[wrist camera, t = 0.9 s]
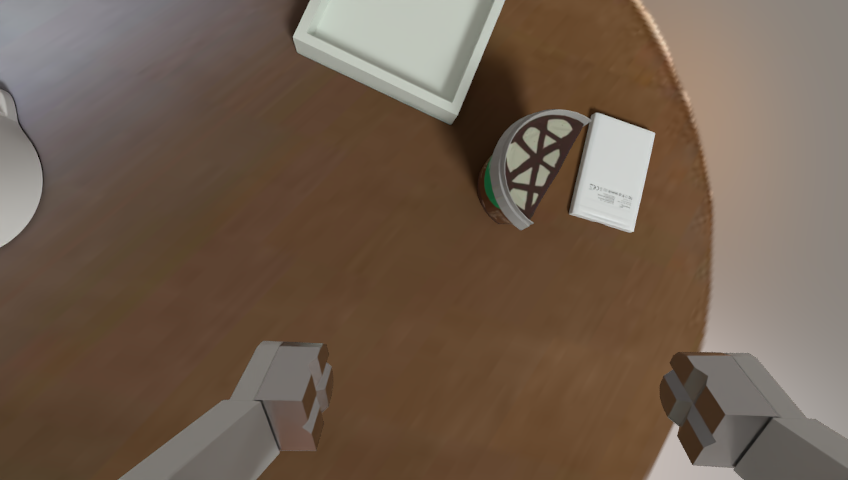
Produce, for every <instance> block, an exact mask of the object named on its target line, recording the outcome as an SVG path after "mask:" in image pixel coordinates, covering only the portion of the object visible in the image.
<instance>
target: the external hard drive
mask: <svg viewBox="0 0 848 480" xmlns="http://www.w3.org/2000/svg"><path fill="white" fill-rule="evenodd" d="M591 120H592V121H591V122H590V123H589V127H588V132H587V136H586V141H585V145H584V149H583V154H582V158H581V162H580V167H579V171H578V175H577V180H576V184H575V188H574V193H573V197H572V201H571V206H570V210H569V214H570V215H574V216H577V217H580V218H583V219H587V220H590V221H593V222H599V223H602V224H605V225H606V226H609V227H613V228H616V229H619V230H622V231H626V232H633V231H634V227H635V222H636V218H637V214H638V209H639V204H640V200H641V196H642V191H643V187H644V182H645V178H646V173H647V169H648V164H649V160H650V155H651V151H652V146H653V141H654V137H655V133H654V132H652V131H649V130H646V129H643V128H641V127H638V126H635V125H632V124H629V123H626V122H623V121H621V120H618V119H615V118H612V117H609V116H607V115H604V114H600V113H594V114H592V115H591Z"/></svg>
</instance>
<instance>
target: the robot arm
mask: <svg viewBox="0 0 848 480" xmlns="http://www.w3.org/2000/svg"><path fill="white" fill-rule="evenodd" d="M42 185H43V177H42V168H41V164H40V160H39V157H38V155H37V153H36V151H35V149H34V147H33V145H32V143H31V142H30V140H29V139H28V138H27V136H26V135H25V133H24V132H23V131H22V129H21V127H20V126H19V124H18V120H17V114H16V108H15V104H14V101H13V99H12V97H11V95H10V94H9V93H8V92H6V91H5V90H2V89H0V247H2V246H3V245H5V244H7V243H8V242H9V241H11V240H12V239H13V238H14V237H16V236H17V235H18V234H19V233H20V232H21V231H22V230H23V229H24V228H25V226H26V225H27V224H28V223H29V221H30V220H31V218H32V217H33V215H34V213H35V211H36V209H37V207H38V204H39V201H40V197H41V193H42ZM328 356H329V352H328V348H327V345H326V344H321V343H301V342H276V341H263V342H262V343H261V344H259V345H258V346H257V348H256V350H255V352H254V354H253V356H252V358H251V360H250V362H249V364H248V365H247V367H246V369H245V371H244V373H243V375H242V377H241V379H240V381H239V383H238V384H237V386H236V388H235V390H234V392H233V394H232V396H231V398H230V400H222V401H221V402H220V403H218V404H217V405H216V406H214V407H213V408H212V409H210V410H209V411H208V412H206V413H205V414H204V415H202V416H201V417H200V418H198V419H197V420H196V421H195V422H193V423H192V424H191V425H189V426H188V427H187V428H185V429H184V430H183V431H181V432H180V433H179V434H177V435H176V436H175V437H173V438H172V439H171V440H169V441H168V442H167V443H166V444H164V445H163V446H162V447H160V448H159V449H158V450H156V451H155V452H154V453H152V454H151V455H150V456H148V457H147V458H146V459H144V460H143V461H142V462H140V463H139V464H138V465H137V466H135V467H134V468H133V469H131V470H130V471H129V472H127V473H126V474H125V475H123V476H122V477H121V478H119V479H118V480H256V479H257V478H258V477H259V476H260V474H261V473H262V472H263V471H264V470H265V469H266V468H267V467H268V466H269V464H270V463H271V462H272V461H273V460H274V459H275V458H276V457H277V455H278V454H279V453H280V452H279V451H316V450H317V447H318V443H319V440H320V436H321V433H322V429H323V426H324V421H323V417H322V412H323V411H324V410H325V409H326V408H327V407H329V404H330V400H331V396H332V389H333V371H332V366H330V365H329V364H328V363H327V359H328ZM670 364H671V366H672V368H673V370H672V371H670V372H669V373H667V374H666V375H664V376H663V379H662V381H661V384H660V399H661V403H662V406H663V409H664V411H665V413H666V415H667V417H668V418H669V419H671V420H672V421H673V422H674V423H676V424H677V425H678V426H679V431H678V435H677V436H678V438H679V440H680V442H681V444H682V446H683V448H684V450H685V452H686V453H687V455H688V457H689V459H690V461H691V463H692V465H697V466H712V467H714V466H715V467H728V468H734V471H735V472H736V473H737V474H738V475H739V476H740V477H741V478H742V479H744V480H848V439H846V438H845V437H843V436H842V435H840V434H838V433H837V432H835V431H833V430H832V429H830V428H829V427H827V426H825V425H824V424H822V423H821V422H819V421H818V420H816V419H807V418H806V417H805V415H804V414H803V413H802V412H801V410H800V409H799V408H798V407H797V406H796V404H795V403H794V402H793V401H792V400H791V398H790V397H789V396H788V395H787V394H786V393H785V391H784V390H783V389H782V388H781V387H780V385H779V384H778V383H777V382H776V381H775V380H774V378H773V377H772V376H771V375H770V374H769V372H768V371H767V370H766V369H765V368H764V366H763V365H762V364H761V363H760V362H759V360H758V359H757V358H756V357H754V356H753V355H751V354H749V353H715V352H714V353H713V352H678V353H676V354H675V355H673V357H672V359H671V361H670Z"/></svg>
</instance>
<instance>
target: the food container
mask: <svg viewBox="0 0 848 480" xmlns="http://www.w3.org/2000/svg"><path fill="white" fill-rule="evenodd" d="M591 121H592V120H591V119H589V118H587V117H586V116H584V115H581V114H579V113H577V112H573V111H568V110H558V109H552V110H544V111H540V112H537V113H533V114H530V115H527V116H525V117H523V118H521V119H519V120H518V121H516V122H515V123H513V124H512V125H511V126H510V127H509V128H508V129H507V130H506V131H505V132H504V133H503V135H502V136H501V138H500V139H499V141H498V143H497V145H496V147H495V149H494V153H493V154H492V156H491V157H490V158H489V159H488V160H487V161H486V162H485V164H484V165H483V167H482V169H481V171H480V173H479V177H478V183H477V188H478V196H479V199H480V202H481V205H482V206H483V208H484V210H485V211H486V213H487V214H488V215H489V216H490V217H491V218H492V220H494V221H495V222H496V223H498V224H513V225H515V226H516V227H517V228H518V229H520V230H523V229H525V228H527V227H529V225H530V224H533V222H532V221H531V220H530V219H531V217H532V216H533V214H534V212H535V210H536V208H537V206H538V204H539V203H540V201H541V199H542V198H543V196H544V194H545V193H546V191H547V189H548V188H549V186H550V184H551V183H552V181H553V180H554V178H555V177H556V175H557V173H558V172H559V170H560V168H561V166H562V164H563V162H564V160H565V158H566V156H567V154H568V152H569V150H570V149H571V147H572V145H573V143H574V142H575V140H576V138H577V136H578V135H579V133H580V131H581V129H582V127H583V126H585V125H586V124H588V123H589V122H591Z"/></svg>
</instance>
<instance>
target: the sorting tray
mask: <svg viewBox="0 0 848 480" xmlns="http://www.w3.org/2000/svg"><path fill="white" fill-rule="evenodd" d="M504 1H505V0H310V2H309V4H308V6H307V8H306V10H305V12H304V14H303V16H302V18H301V21H300V23H299V25H298V27H297V29H296V31H295V33H294V35H293V40H294V43H295V47H296V50H297V53H299V54H301V55H303V56H305V57H307V58H310V59H312V60H314V61H316V62H318V63H320V64H322V65H324V66H326V67H329V68H331V69H333V70H335V71H337V72H339V73H341V74H343V75H346V76H348V77H350V78H352V79H354V80H356V81H358V82H360V83H362V84H365V85H367V86H369V87H371V88H373V89H375V90H377V91H379V92H382V93H384V94H386V95H388V96H390V97H392V98H394V99H396V100H398V101H401V102H403V103H405V104H407V105H409V106H411V107H413V108H415V109H417V110H420V111H422V112H424V113H426V114H428V115H430V116H432V117H434V118H437V119H439V120H441V121H443V122H445V123H447V124H449V125H451V124H452V123H453V121H454V120H455V119H456V117H457V116H458V113H459V111H460V108H461V106H462V104H463V101H464V99H465V96H466V94H467V91H468V89H469V87H470V84H471V82H472V79H473V77H474V74H475V72H476V70H477V67H478V65H479V62H480V60H481V57H482V55H483V53H484V50H485V48H486V45H487V43H488V40H489V38H490V35H491V33H492V31H493V28H494V26H495V23H496V21H497V18H498V16H499V14H500V11H501V9H502V6H503V4H504Z"/></svg>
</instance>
